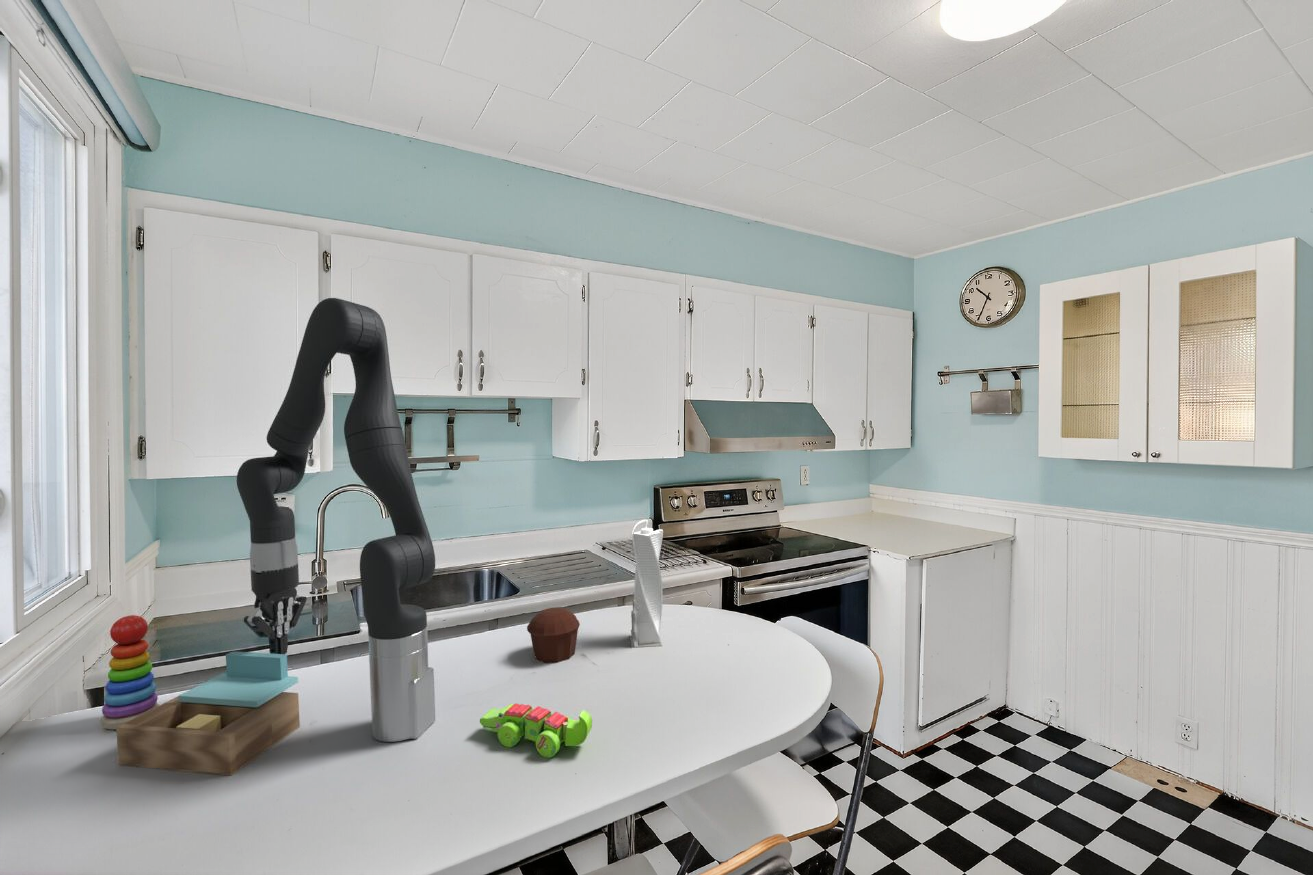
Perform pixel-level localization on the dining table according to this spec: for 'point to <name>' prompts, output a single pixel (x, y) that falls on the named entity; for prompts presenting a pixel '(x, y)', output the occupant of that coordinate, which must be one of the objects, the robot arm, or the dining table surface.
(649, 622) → the skyscraper
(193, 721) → the ochre block
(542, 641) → the muffin
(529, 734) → the toy crocodile
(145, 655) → the stacking toy
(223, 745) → the wooden box
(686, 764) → the dining table surface
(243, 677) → the sliding lid
